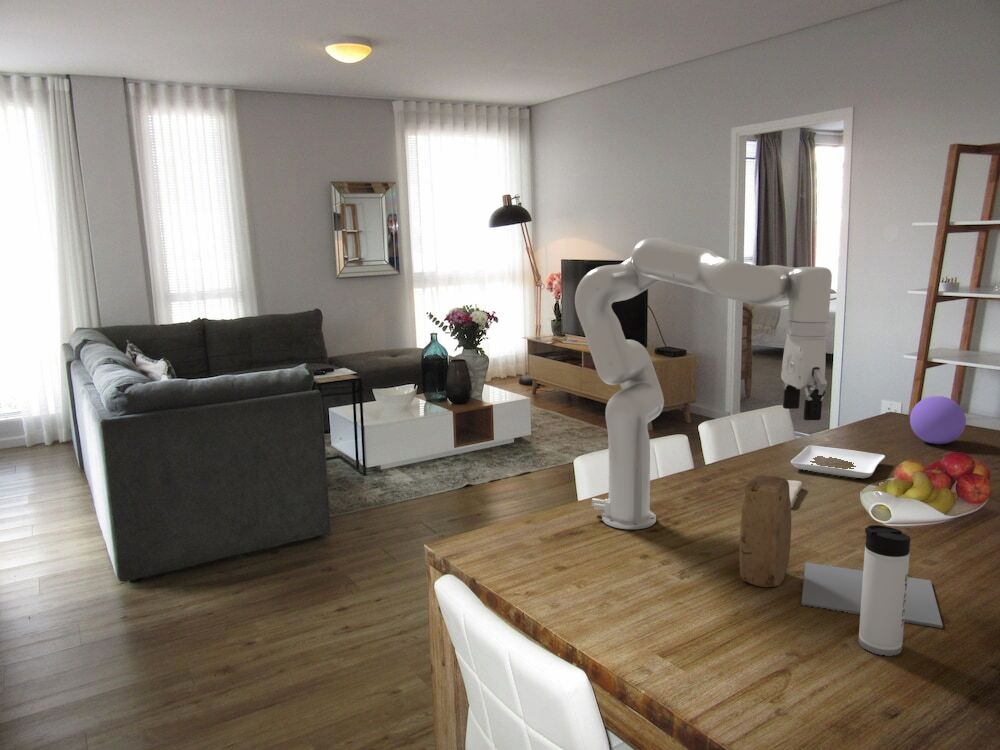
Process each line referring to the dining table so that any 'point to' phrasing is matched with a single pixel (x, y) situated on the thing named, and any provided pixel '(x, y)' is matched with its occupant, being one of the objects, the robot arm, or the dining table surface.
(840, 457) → the salad plate
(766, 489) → the block
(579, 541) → the dining table surface
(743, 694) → the dining table surface
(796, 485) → the washcloth
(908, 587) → the mat
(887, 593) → the travel mug
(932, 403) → the decorative ball
